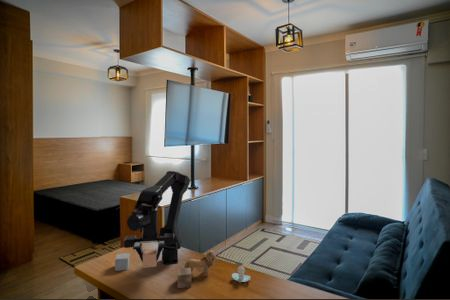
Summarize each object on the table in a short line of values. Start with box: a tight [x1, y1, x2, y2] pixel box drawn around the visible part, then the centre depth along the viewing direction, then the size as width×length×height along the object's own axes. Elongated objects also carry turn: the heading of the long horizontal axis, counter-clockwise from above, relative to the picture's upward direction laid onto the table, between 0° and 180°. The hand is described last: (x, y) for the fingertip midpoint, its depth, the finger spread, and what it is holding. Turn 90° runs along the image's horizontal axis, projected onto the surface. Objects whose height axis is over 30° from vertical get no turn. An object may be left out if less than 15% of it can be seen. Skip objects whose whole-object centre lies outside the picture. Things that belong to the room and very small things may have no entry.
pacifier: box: [231, 265, 251, 283], centre depth 107 cm, size 7×6×6 cm
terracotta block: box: [142, 248, 158, 269], centre depth 106 cm, size 5×5×5 cm
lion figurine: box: [183, 250, 217, 279], centre depth 110 cm, size 15×5×9 cm, turn 113°
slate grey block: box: [114, 252, 130, 272], centre depth 115 cm, size 5×5×5 cm
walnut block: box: [176, 267, 193, 289], centre depth 104 cm, size 5×5×5 cm
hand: (149, 261), depth 106 cm, fingers closed on terracotta block, 5 cm apart
